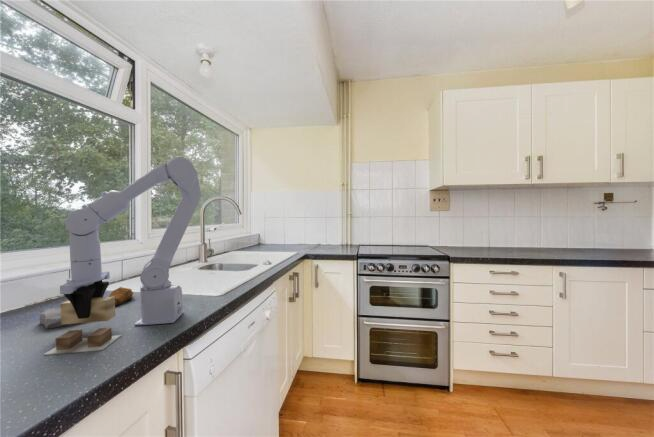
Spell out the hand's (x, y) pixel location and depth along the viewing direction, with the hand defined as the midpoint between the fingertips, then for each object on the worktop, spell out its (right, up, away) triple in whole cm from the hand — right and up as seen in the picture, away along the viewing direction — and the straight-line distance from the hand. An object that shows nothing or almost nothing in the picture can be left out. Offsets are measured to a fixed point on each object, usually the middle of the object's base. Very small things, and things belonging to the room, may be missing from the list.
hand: (89, 315), depth 70 cm
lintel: (0, -1, 0) cm, 1 cm away
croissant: (-9, -4, +24) cm, 26 cm away
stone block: (-11, -5, +8) cm, 14 cm away
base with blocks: (+5, -4, -7) cm, 10 cm away
